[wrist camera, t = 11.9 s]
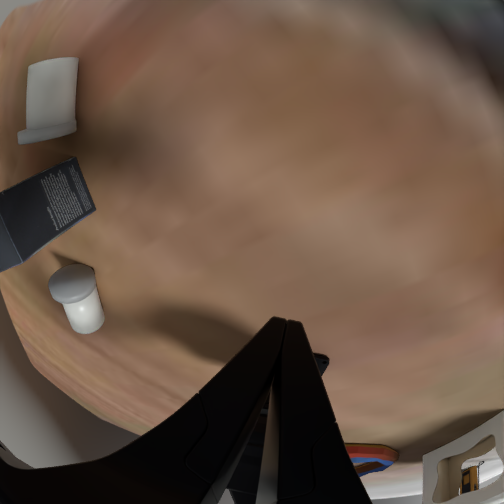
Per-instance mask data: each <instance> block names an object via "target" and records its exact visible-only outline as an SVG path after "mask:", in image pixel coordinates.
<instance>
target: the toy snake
mask: <svg viewBox="0 0 504 504" xmlns="http://www.w3.org/2000/svg"><path fill="white" fill-rule="evenodd" d="M345 446H346V449H347V452H348V454H349V456H350V458H351V460H352V462H354V463H360V462H371V463H368V464H365V465H362V466H359V467H356V468H355V469H356V471H357V473H358V475H359V477H361V476H363V475H366V474H368V473H372V472H378V471H383V470H385V469H386V468H388V467H389V466H391V465H392V464H393V463H394V462H395V461H397V460H398V458H399V454H398V453H397V452H396V451H394V450H393V449H391V448H389V447H386V446H384V445H367V444H345Z"/></svg>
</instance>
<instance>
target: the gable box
mask: <svg viewBox="0 0 504 504" xmlns="http://www.w3.org/2000/svg"><path fill="white" fill-rule="evenodd" d="M495 446H496V451H497V453H498V455H499V457H500V458H501V460H502V462H503V465H504V410H503V411H501V412H500V413H499V414H497V415H496V416H494V417H493V418H491V419H490V420H488V421H486V422H485V423H483V424H482V425H480V426H478V427H477V428H475V429H473V430H472V431H470V432H468V433H466V434H465V435H463V436H461V437H459V438H457V439H456V440H454V441H452V442H450V443H448V444H446V445H444V446H442V447H440V448H438V449H435V450H433V451H431V452H429V453H427V454H424V455H423V456H422V457H423V497H422V498H423V499H422V504H500V503H502V502H504V470H503V473H502V475H501V476H500V478H499V479H498V480H496V481H495V482H494V483H492V484H490V485H488V486H487V487H484V488H482V489H479V490H475V491H471V492H468V493H464V494H461V495H459V494H458V493H459V488H460V484H461V481H462V471H461V466H462V464H463V462H464V461H466V460H467V459H470V458H475V457H479V456H481V455H484V454H486V453H487V452H489V451H490V450H491V449H493V448H494V447H495Z"/></svg>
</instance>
